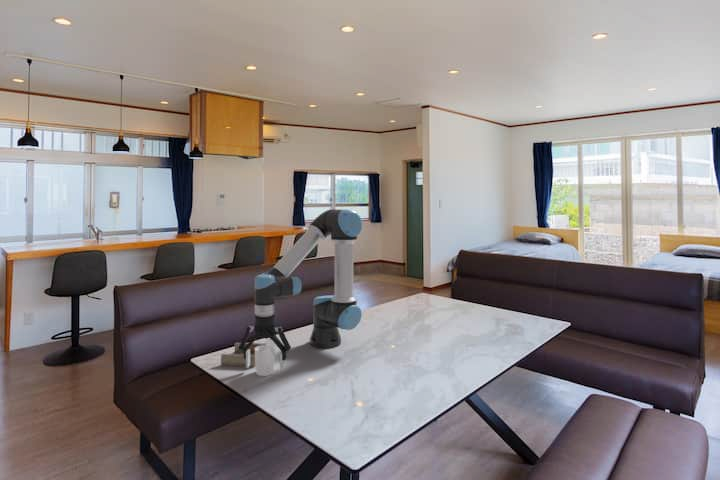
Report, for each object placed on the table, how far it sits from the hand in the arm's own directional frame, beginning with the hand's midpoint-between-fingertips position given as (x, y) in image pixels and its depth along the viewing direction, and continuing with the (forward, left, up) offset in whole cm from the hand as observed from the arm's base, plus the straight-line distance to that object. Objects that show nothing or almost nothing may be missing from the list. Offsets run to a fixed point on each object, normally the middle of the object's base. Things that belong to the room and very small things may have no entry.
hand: (264, 367), depth 161 cm
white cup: (0, 0, -2) cm, 2 cm away
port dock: (+13, -13, -2) cm, 19 cm away
